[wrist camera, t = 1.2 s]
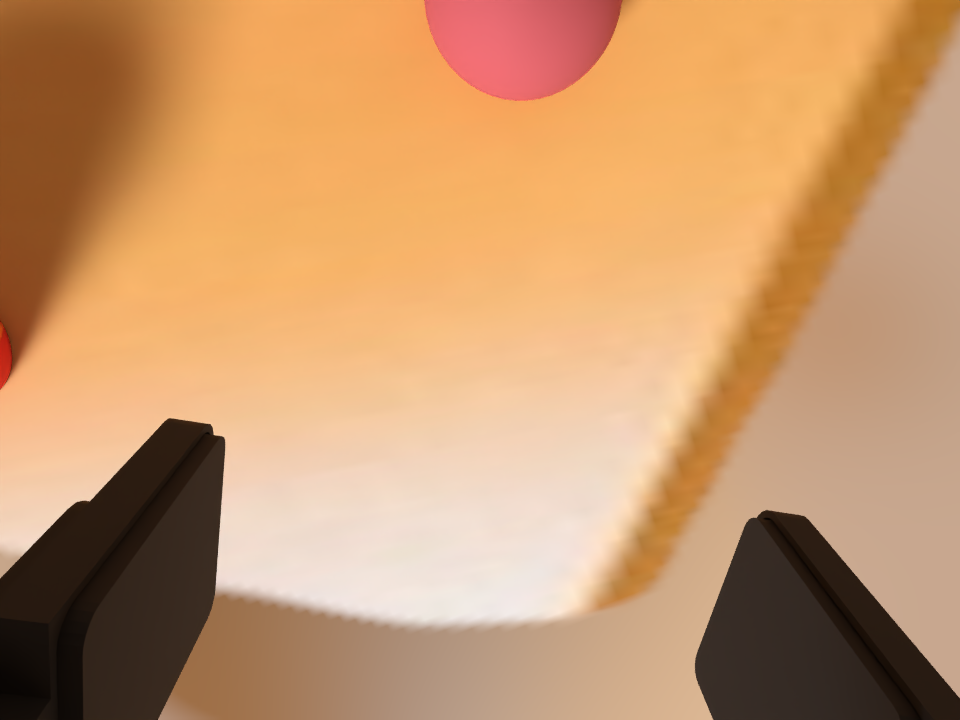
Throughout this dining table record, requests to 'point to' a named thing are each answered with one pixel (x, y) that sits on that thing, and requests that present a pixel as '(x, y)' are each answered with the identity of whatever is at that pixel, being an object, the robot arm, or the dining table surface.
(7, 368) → the paper cup
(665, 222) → the dining table surface
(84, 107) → the dining table surface
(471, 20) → the ball
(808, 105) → the dining table surface
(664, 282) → the dining table surface
